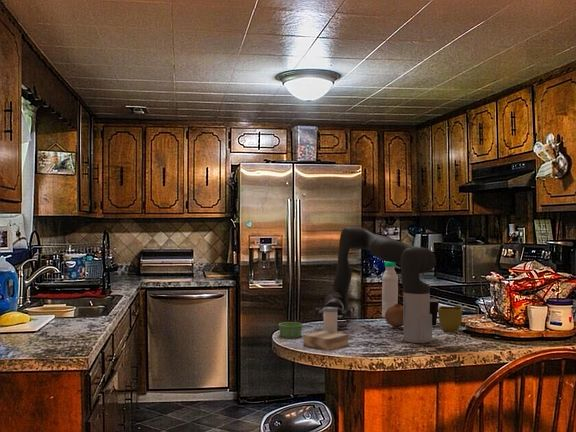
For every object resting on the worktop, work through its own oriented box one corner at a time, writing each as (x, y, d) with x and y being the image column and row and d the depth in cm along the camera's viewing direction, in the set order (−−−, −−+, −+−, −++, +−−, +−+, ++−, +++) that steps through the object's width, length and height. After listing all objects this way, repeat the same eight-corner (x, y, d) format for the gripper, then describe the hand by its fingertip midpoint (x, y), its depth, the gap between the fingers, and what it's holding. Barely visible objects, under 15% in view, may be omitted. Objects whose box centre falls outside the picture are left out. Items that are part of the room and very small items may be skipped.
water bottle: (399, 316, 249) (399, 261, 250) (395, 319, 243) (395, 262, 243) (384, 315, 252) (384, 260, 253) (380, 318, 246) (380, 261, 246)
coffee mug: (439, 326, 226) (439, 302, 226) (418, 325, 228) (418, 301, 228) (437, 321, 237) (437, 298, 237) (417, 320, 239) (417, 297, 239)
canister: (340, 338, 202) (340, 307, 202) (331, 340, 198) (331, 309, 198) (329, 336, 206) (329, 306, 206) (320, 338, 202) (320, 307, 202)
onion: (411, 330, 217) (411, 305, 217) (387, 330, 217) (387, 304, 217) (406, 326, 227) (406, 301, 227) (383, 325, 227) (383, 301, 227)
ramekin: (274, 337, 204) (274, 325, 204) (284, 332, 212) (284, 321, 212) (296, 339, 200) (296, 327, 200) (306, 334, 208) (306, 323, 208)
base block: (348, 344, 191) (348, 334, 191) (328, 350, 183) (328, 339, 183) (323, 340, 198) (323, 330, 198) (303, 344, 190) (303, 334, 190)
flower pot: (437, 331, 215) (437, 308, 215) (440, 328, 223) (440, 305, 223) (461, 333, 211) (461, 310, 211) (462, 329, 219) (462, 306, 220)
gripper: (317, 299, 230) (313, 305, 214) (351, 300, 228) (350, 306, 212) (317, 317, 230) (313, 324, 214) (351, 318, 228) (350, 325, 212)
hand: (332, 315), depth 213 cm, fingers open, 8 cm apart
